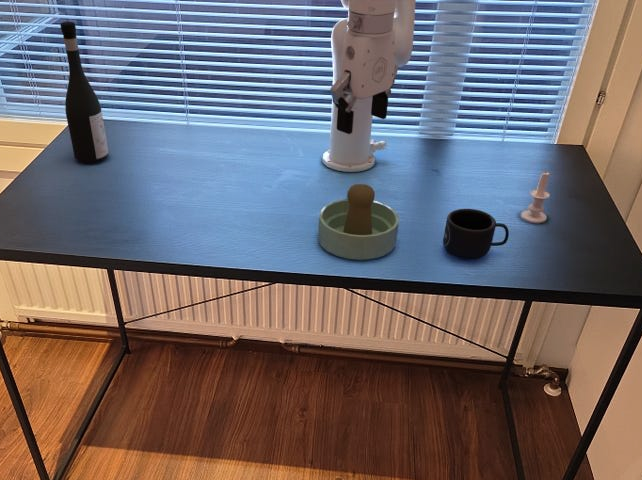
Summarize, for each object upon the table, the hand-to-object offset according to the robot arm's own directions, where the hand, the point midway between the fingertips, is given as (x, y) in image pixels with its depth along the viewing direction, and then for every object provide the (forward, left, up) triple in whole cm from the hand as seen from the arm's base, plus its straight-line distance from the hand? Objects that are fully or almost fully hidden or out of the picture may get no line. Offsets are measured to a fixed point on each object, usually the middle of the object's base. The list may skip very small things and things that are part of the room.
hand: (361, 124), depth 121 cm
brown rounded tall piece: (+2, +4, -21) cm, 22 cm away
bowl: (+2, +4, -22) cm, 22 cm away
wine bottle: (+36, -59, -22) cm, 72 cm away
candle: (-37, +13, -22) cm, 45 cm away
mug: (-16, +18, -22) cm, 33 cm away
